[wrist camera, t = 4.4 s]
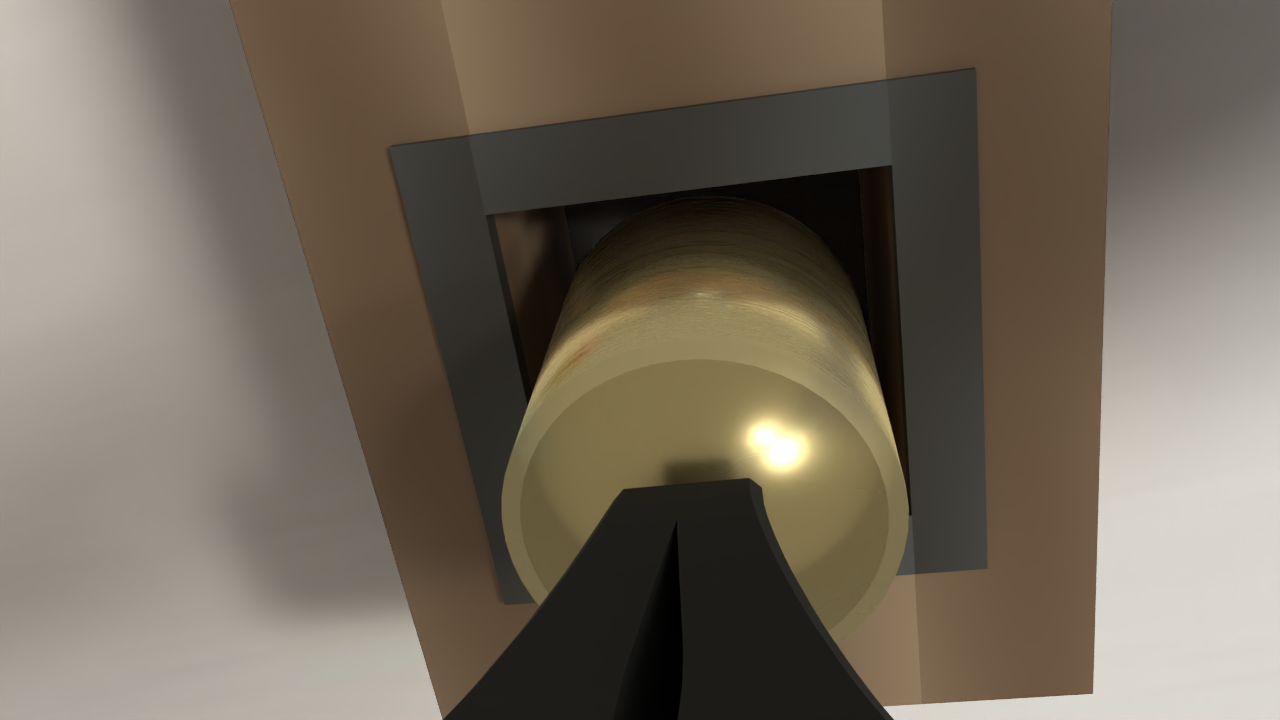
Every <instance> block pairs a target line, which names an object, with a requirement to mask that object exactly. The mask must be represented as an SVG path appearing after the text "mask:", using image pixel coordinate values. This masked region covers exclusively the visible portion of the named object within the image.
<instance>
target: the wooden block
mask: <svg viewBox="0 0 1280 720" xmlns="http://www.w3.org/2000/svg"><path fill="white" fill-rule="evenodd" d="M229 1H230V4H231V8H232V11H233V15H234V18H235V21H236V25H237V28H238V31H239V35H240V38H241V41H242V45H243V48H244V52H245V55H246V58H247V62H248V65H249V68H250V72H251V75H252V79H253V82H254V85H255V89H256V92H257V95H258V99H259V102H260V106H261V109H262V112H263V116H264V119H265V122H266V126H267V129H268V132H269V136H270V139H271V143H272V146H273V149H274V153H275V156H276V159H277V163H278V166H279V170H280V173H281V176H282V180H283V183H284V186H285V190H286V193H287V196H288V200H289V203H290V207H291V210H292V213H293V217H294V220H295V223H296V227H297V230H298V234H299V237H300V240H301V244H302V247H303V250H304V254H305V257H306V261H307V264H308V267H309V271H310V274H311V277H312V281H313V284H314V287H315V291H316V294H317V298H318V301H319V304H320V308H321V311H322V314H323V318H324V321H325V325H326V328H327V331H328V335H329V338H330V341H331V345H332V348H333V352H334V355H335V358H336V362H337V365H338V368H339V372H340V375H341V378H342V382H343V385H344V389H345V392H346V395H347V399H348V402H349V405H350V409H351V412H352V416H353V419H354V422H355V426H356V429H357V432H358V436H359V439H360V443H361V446H362V449H363V453H364V456H365V459H366V463H367V466H368V469H369V473H370V476H371V480H372V483H373V486H374V490H375V493H376V496H377V500H378V503H379V507H380V510H381V513H382V517H383V520H384V523H385V527H386V530H387V533H388V537H389V540H390V544H391V547H392V550H393V554H394V557H395V560H396V564H397V567H398V571H399V574H400V577H401V581H402V584H403V587H404V591H405V594H406V598H407V601H408V604H409V608H410V611H411V614H412V618H413V621H414V624H415V628H416V631H417V635H418V638H419V641H420V645H421V648H422V651H423V655H424V658H425V662H426V665H427V668H428V672H429V675H430V678H431V682H432V685H433V689H434V692H435V695H436V699H437V702H438V705H439V709H440V712H441V715H442V719H444V718H445V717H446V716H447V715H448V714H449V713H450V712H451V711H452V709H453V708H454V707H455V706H456V705H457V704H458V703H459V702H460V701H461V700H462V699H463V698H464V697H465V695H466V694H467V693H468V692H469V691H470V690H471V689H472V688H473V687H474V686H475V684H476V683H477V682H478V681H479V680H480V679H481V677H482V676H483V675H484V674H485V673H486V671H487V670H488V669H489V668H490V667H491V666H492V664H493V663H494V662H495V661H496V660H497V658H498V657H499V656H500V655H501V654H502V653H503V651H504V650H505V649H506V648H507V647H508V645H509V644H510V643H511V642H512V641H513V640H514V638H515V637H516V636H517V635H518V634H519V632H520V631H521V630H522V629H523V627H524V626H525V625H526V624H527V622H528V621H529V620H530V619H531V617H532V616H533V615H534V613H535V612H536V611H537V609H538V608H539V605H538V604H537V603H536V602H535V600H534V599H533V598H532V596H531V595H530V593H529V592H528V590H527V589H526V587H525V586H524V584H523V583H522V581H521V579H520V577H519V575H518V573H517V571H516V569H515V567H514V564H513V562H512V560H511V557H510V554H509V550H508V547H507V544H506V541H505V535H504V529H503V523H502V490H503V483H504V477H505V472H506V469H507V466H508V463H509V460H510V456H511V453H512V450H513V447H514V445H515V442H516V439H517V436H518V433H519V430H520V427H521V424H522V422H523V419H524V416H525V413H526V410H527V407H528V404H529V401H530V399H531V396H532V393H533V390H534V387H535V384H536V381H537V378H538V376H539V373H540V370H541V367H542V364H543V361H544V358H545V356H546V353H547V350H548V347H549V344H550V341H551V338H552V335H553V333H554V330H555V327H556V324H557V321H558V318H559V315H560V312H561V310H562V307H563V304H564V301H565V298H566V295H567V292H568V290H569V287H570V284H571V282H572V280H573V278H574V276H575V274H576V268H575V263H574V257H573V252H572V247H571V242H570V236H569V231H568V226H567V220H566V215H565V210H564V205H571V204H579V203H587V202H595V201H603V200H611V199H620V198H628V197H636V196H644V195H652V194H660V193H668V192H676V191H684V190H692V189H701V188H709V187H717V186H725V185H733V184H741V183H749V182H757V181H765V180H773V179H782V178H790V177H798V176H806V175H814V174H822V173H830V172H838V171H846V170H855V169H859V182H860V196H861V211H862V225H863V239H864V254H865V268H866V282H867V297H868V311H869V325H870V340H871V350H872V354H873V358H874V361H875V365H876V369H877V373H878V377H879V381H880V385H881V389H882V393H883V397H884V401H885V405H886V409H887V413H888V417H889V421H890V425H891V429H892V433H893V436H894V440H895V444H896V448H897V452H898V456H899V460H900V464H901V468H902V472H903V476H904V480H905V484H906V491H907V498H908V505H909V520H908V534H907V540H906V545H905V551H904V554H903V557H902V560H901V563H900V566H899V568H898V571H897V574H896V576H895V578H894V579H893V581H892V583H891V585H890V587H889V589H888V591H887V593H886V594H885V596H884V597H883V598H882V600H881V601H880V602H879V604H878V605H877V607H876V608H875V609H874V611H873V612H872V613H871V614H870V615H869V616H868V617H867V618H866V619H865V620H864V621H863V622H862V623H861V624H860V625H859V626H858V628H856V629H855V630H854V631H853V632H851V633H850V634H849V635H848V636H846V637H845V638H844V639H843V640H841V641H840V642H839V643H837V646H838V647H839V649H840V650H841V651H842V653H843V654H844V656H845V657H846V659H847V660H848V661H849V663H850V664H851V666H852V667H853V669H854V670H855V671H856V673H857V674H858V675H859V677H860V678H861V679H862V681H863V682H864V683H865V685H866V686H867V687H868V689H869V690H870V691H871V692H872V694H873V695H874V696H875V698H876V699H877V700H878V701H879V703H880V704H881V705H882V706H896V705H913V704H929V703H946V702H963V701H979V700H996V699H1013V698H1029V697H1046V696H1063V695H1079V694H1093V672H1094V636H1095V600H1096V564H1097V528H1098V492H1099V456H1100V420H1101V384H1102V348H1103V312H1104V276H1105V240H1106V204H1107V168H1108V132H1109V95H1110V59H1111V23H1112V0H229Z"/></svg>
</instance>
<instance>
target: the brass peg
mask: <svg viewBox="0 0 1280 720" xmlns="http://www.w3.org/2000/svg"><path fill="white" fill-rule="evenodd" d="M742 478H750V479H752V480H753V481H754V482H755V483H757V484H758V485H759V486H761V487H762V491H763V499H764V505H765V509H766V513H767V516H768V519H769V522H770V524H771V527H772V529H773V532H774V534H775V537H776V539H777V541H778V543H779V545H780V548H781V550H782V552H783V554H784V556H785V558H786V560H787V562H788V564H789V566H790V568H791V570H792V572H793V574H794V576H795V577H796V579H797V581H798V583H799V584H800V586H801V588H802V590H803V591H804V593H805V595H806V596H807V598H808V600H809V602H810V603H811V605H812V607H813V609H814V610H815V612H816V614H817V615H818V617H819V618H820V620H821V622H822V623H823V625H824V626H825V628H826V629H827V631H828V632H829V634H830V636H831V637H832V638H833V640H834V641H835V643H836V644H837V643H839V642H840V641H841V640H843V639H844V638H845V637H846V636H848V635H849V634H850V633H851V632H853V631H854V630H855V629H856V628H858V626H859V625H860V624H861V623H862V622H863V621H864V620H865V619H866V618H867V617H868V616H869V615H870V614H871V613H872V612H873V611H874V609H875V608H876V607H877V605H878V604H879V602H880V601H881V600H882V598H883V597H884V596H885V594H886V593H887V591H888V589H889V587H890V585H891V583H892V581H893V579H894V578H895V576H896V574H897V571H898V568H899V566H900V563H901V560H902V557H903V554H904V551H905V545H906V540H907V534H908V520H909V505H908V498H907V491H906V484H905V480H904V476H903V472H902V468H901V464H900V460H899V456H898V452H897V448H896V444H895V440H894V436H893V433H892V429H891V425H890V421H889V417H888V413H887V409H886V405H885V401H884V397H883V393H882V389H881V385H880V381H879V377H878V373H877V369H876V365H875V361H874V358H873V354H872V350H871V346H870V342H869V338H868V334H867V330H866V326H865V322H864V318H863V314H862V310H861V306H860V303H859V300H858V296H857V293H856V290H855V287H854V285H853V283H852V281H851V278H850V276H849V274H848V272H847V270H846V269H845V267H844V266H843V264H842V263H841V261H840V260H839V258H838V257H837V255H836V254H835V253H834V252H833V251H832V249H831V248H830V247H829V246H828V245H827V244H826V243H825V241H824V240H823V239H821V238H820V237H819V236H818V235H817V234H816V233H814V232H813V231H812V230H811V229H810V228H809V227H807V226H806V225H804V224H803V223H801V222H800V221H798V220H797V219H795V218H793V217H792V216H790V215H788V214H786V213H784V212H782V211H780V210H778V209H775V208H773V207H770V206H767V205H764V204H761V203H758V202H755V201H752V200H747V199H741V198H736V197H728V196H713V195H711V196H694V197H686V198H681V199H676V200H670V201H667V202H664V203H661V204H658V205H655V206H652V207H650V208H647V209H645V210H643V211H641V212H639V213H637V214H635V215H633V216H631V217H629V218H628V219H626V220H625V221H623V222H622V223H620V224H619V225H617V226H616V227H614V228H613V229H612V230H611V231H610V232H609V233H607V234H606V235H605V236H604V237H603V238H602V239H601V240H600V241H599V242H598V243H597V244H596V245H595V246H594V247H593V249H592V250H591V251H590V252H589V253H588V254H587V256H586V257H585V259H584V260H583V262H582V263H581V265H580V266H579V268H578V270H577V272H576V274H575V276H574V278H573V280H572V282H571V284H570V287H569V290H568V292H567V295H566V298H565V301H564V304H563V307H562V310H561V312H560V315H559V318H558V321H557V324H556V327H555V330H554V333H553V335H552V338H551V341H550V344H549V347H548V350H547V353H546V356H545V358H544V361H543V364H542V367H541V370H540V373H539V376H538V378H537V381H536V384H535V387H534V390H533V393H532V396H531V399H530V401H529V404H528V407H527V410H526V413H525V416H524V419H523V422H522V424H521V427H520V430H519V433H518V436H517V439H516V442H515V445H514V447H513V450H512V453H511V456H510V460H509V463H508V466H507V469H506V472H505V477H504V483H503V490H502V523H503V529H504V535H505V541H506V544H507V547H508V550H509V554H510V557H511V560H512V562H513V564H514V567H515V569H516V571H517V573H518V575H519V577H520V579H521V581H522V583H523V584H524V586H525V587H526V589H527V590H528V592H529V593H530V595H531V596H532V598H533V599H534V600H535V602H536V603H537V604H538V605H539V606H540V605H541V604H542V602H543V601H544V600H545V598H546V597H547V596H548V594H549V593H550V592H551V590H552V589H553V588H554V586H555V585H556V584H557V582H558V581H559V580H560V578H561V577H562V576H563V574H564V573H565V572H566V570H567V569H568V567H569V566H570V564H571V563H572V562H573V560H574V559H575V557H576V556H577V554H578V553H579V551H580V550H581V549H582V547H583V546H584V544H585V543H586V541H587V540H588V538H589V537H590V535H591V534H592V532H593V531H594V529H595V528H596V526H597V525H598V523H599V522H600V520H601V519H602V517H603V516H604V514H605V513H606V511H607V510H608V508H609V507H610V505H611V504H612V502H613V501H614V499H615V498H616V497H617V496H618V495H619V494H620V492H621V491H622V490H623V489H628V488H639V487H651V486H662V485H673V484H685V483H696V482H707V481H719V480H730V479H742Z"/></svg>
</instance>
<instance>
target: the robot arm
mask: <svg viewBox="0 0 1280 720" xmlns="http://www.w3.org/2000/svg"><path fill="white" fill-rule="evenodd" d="M443 720H893V718H892V717H891V716H890V715H889V714H888V712H887V711H886V710H885V709H884V708H883V706H882V705H881V704H880V703H879V701H878V700H877V699H876V698H875V696H874V695H873V694H872V692H871V691H870V690H869V689H868V687H867V686H866V685H865V683H864V682H863V681H862V679H861V678H860V677H859V675H858V674H857V673H856V671H855V670H854V669H853V667H852V666H851V664H850V663H849V661H848V660H847V659H846V657H845V656H844V654H843V653H842V651H841V650H840V649H839V647H838V646H837V644H836V643H835V641H834V640H833V638H832V637H831V636H830V634H829V632H828V631H827V629H826V628H825V626H824V625H823V623H822V622H821V620H820V618H819V617H818V615H817V614H816V612H815V610H814V609H813V607H812V605H811V603H810V602H809V600H808V598H807V596H806V595H805V593H804V591H803V590H802V588H801V586H800V584H799V583H798V581H797V579H796V577H795V576H794V574H793V572H792V570H791V568H790V566H789V564H788V562H787V560H786V558H785V556H784V554H783V552H782V550H781V548H780V545H779V543H778V541H777V539H776V537H775V534H774V532H773V529H772V527H771V524H770V522H769V519H768V516H767V513H766V509H765V505H764V499H763V491H762V487H761V486H759V485H758V484H757V483H755V482H754V481H753V480H752V479H750V478H742V479H730V480H719V481H707V482H696V483H685V484H673V485H662V486H651V487H639V488H628V489H623V490H622V491H621V492H620V494H619V495H618V496H617V497H616V498H615V499H614V501H613V502H612V504H611V505H610V507H609V508H608V510H607V511H606V513H605V514H604V516H603V517H602V519H601V520H600V522H599V523H598V525H597V526H596V528H595V529H594V531H593V532H592V534H591V535H590V537H589V538H588V540H587V541H586V543H585V544H584V546H583V547H582V549H581V550H580V551H579V553H578V554H577V556H576V557H575V559H574V560H573V562H572V563H571V564H570V566H569V567H568V569H567V570H566V572H565V573H564V574H563V576H562V577H561V578H560V580H559V581H558V582H557V584H556V585H555V586H554V588H553V589H552V590H551V592H550V593H549V594H548V596H547V597H546V598H545V600H544V601H543V602H542V604H541V605H540V606H539V608H538V609H537V611H536V612H535V613H534V615H533V616H532V617H531V619H530V620H529V621H528V622H527V624H526V625H525V626H524V627H523V629H522V630H521V631H520V632H519V634H518V635H517V636H516V637H515V638H514V640H513V641H512V642H511V643H510V644H509V645H508V647H507V648H506V649H505V650H504V651H503V653H502V654H501V655H500V656H499V657H498V658H497V660H496V661H495V662H494V663H493V664H492V666H491V667H490V668H489V669H488V670H487V671H486V673H485V674H484V675H483V676H482V677H481V679H480V680H479V681H478V682H477V683H476V684H475V686H474V687H473V688H472V689H471V690H470V691H469V692H468V693H467V694H466V695H465V697H464V698H463V699H462V700H461V701H460V702H459V703H458V704H457V705H456V706H455V707H454V708H453V709H452V711H451V712H450V713H449V714H448V715H447V716H446V717H445V718H444V719H443Z"/></svg>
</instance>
